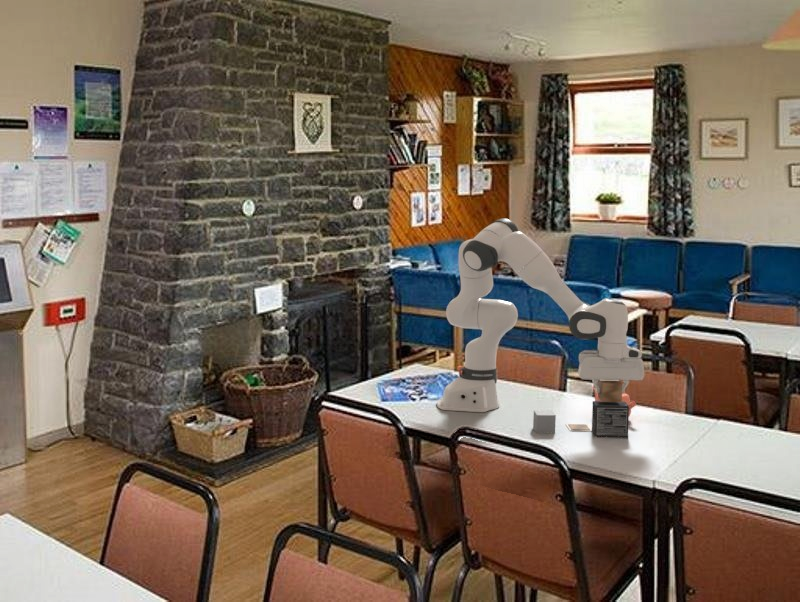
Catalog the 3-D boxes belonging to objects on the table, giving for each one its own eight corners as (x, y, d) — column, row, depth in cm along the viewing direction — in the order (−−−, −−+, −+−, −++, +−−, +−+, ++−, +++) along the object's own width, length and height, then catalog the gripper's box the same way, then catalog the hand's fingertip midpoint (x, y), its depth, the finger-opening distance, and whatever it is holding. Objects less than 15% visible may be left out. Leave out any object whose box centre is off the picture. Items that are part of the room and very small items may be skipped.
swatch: (570, 431, 260) (570, 429, 260) (565, 424, 267) (565, 423, 267) (592, 431, 260) (592, 430, 260) (587, 425, 267) (587, 423, 267)
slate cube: (536, 433, 258) (536, 415, 257) (533, 428, 264) (533, 410, 263) (555, 433, 258) (555, 415, 257) (551, 428, 264) (552, 410, 263)
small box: (624, 432, 260) (625, 400, 258) (628, 438, 253) (630, 406, 252) (590, 431, 260) (592, 399, 259) (594, 437, 254) (596, 405, 252)
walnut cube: (602, 401, 252) (603, 383, 251) (597, 397, 258) (598, 378, 257) (621, 402, 252) (622, 383, 251) (616, 397, 258) (617, 379, 257)
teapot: (632, 415, 280) (633, 386, 279) (635, 424, 268) (636, 395, 267) (590, 413, 283) (591, 384, 281) (591, 422, 271) (592, 392, 270)
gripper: (581, 351, 250) (579, 395, 252) (647, 352, 250) (644, 396, 252) (576, 348, 256) (575, 390, 258) (641, 348, 256) (638, 391, 258)
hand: (610, 393), depth 255 cm, fingers closed on walnut cube, 6 cm apart
